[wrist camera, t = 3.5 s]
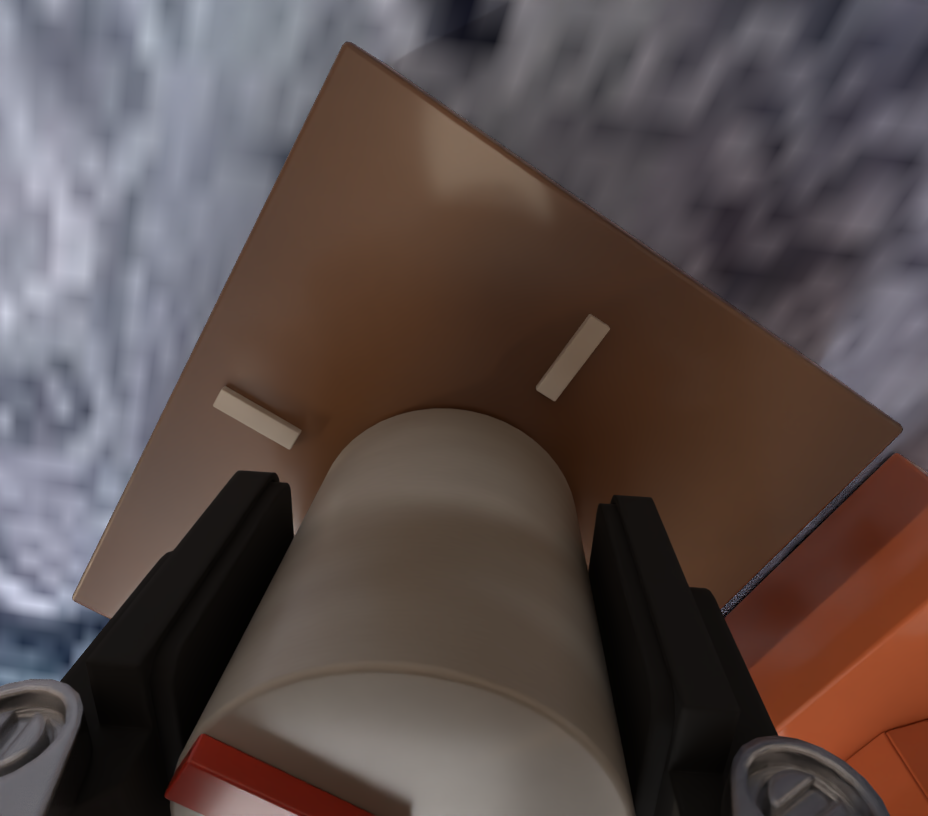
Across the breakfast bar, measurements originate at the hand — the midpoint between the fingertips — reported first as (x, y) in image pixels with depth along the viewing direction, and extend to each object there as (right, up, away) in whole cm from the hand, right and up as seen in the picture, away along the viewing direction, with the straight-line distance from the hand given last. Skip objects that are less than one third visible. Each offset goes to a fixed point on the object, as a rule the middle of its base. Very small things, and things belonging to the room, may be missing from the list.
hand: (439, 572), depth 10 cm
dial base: (0, +2, +4) cm, 4 cm away
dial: (0, +1, +1) cm, 1 cm away
